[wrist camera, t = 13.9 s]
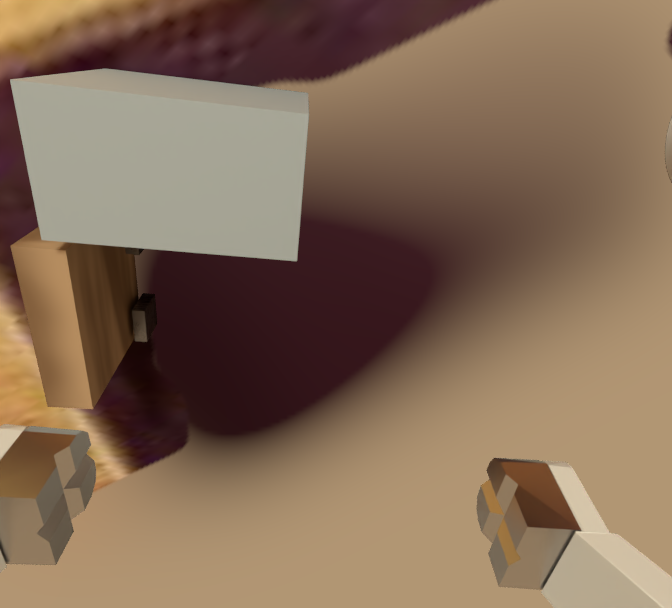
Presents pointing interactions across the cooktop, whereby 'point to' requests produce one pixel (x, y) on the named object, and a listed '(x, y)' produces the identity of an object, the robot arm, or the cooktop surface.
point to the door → (76, 314)
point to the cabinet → (164, 162)
